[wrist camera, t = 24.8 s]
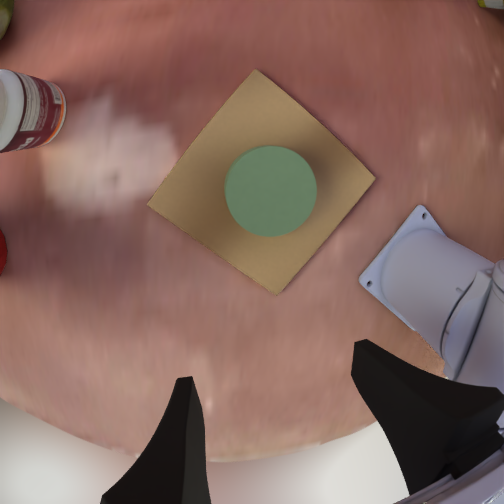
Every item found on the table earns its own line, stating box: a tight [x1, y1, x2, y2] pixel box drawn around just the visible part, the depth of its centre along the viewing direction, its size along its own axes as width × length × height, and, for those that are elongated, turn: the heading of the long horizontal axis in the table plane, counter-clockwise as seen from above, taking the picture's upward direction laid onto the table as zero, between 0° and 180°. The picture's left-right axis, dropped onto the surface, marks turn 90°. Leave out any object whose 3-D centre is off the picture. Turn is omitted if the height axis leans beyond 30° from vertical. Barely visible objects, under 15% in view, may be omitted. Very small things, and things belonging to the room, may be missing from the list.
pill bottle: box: [0, 69, 66, 153], centre depth 12 cm, size 5×5×8 cm
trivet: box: [147, 69, 376, 296], centre depth 20 cm, size 11×11×1 cm
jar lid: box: [224, 145, 317, 237], centre depth 19 cm, size 6×5×2 cm
